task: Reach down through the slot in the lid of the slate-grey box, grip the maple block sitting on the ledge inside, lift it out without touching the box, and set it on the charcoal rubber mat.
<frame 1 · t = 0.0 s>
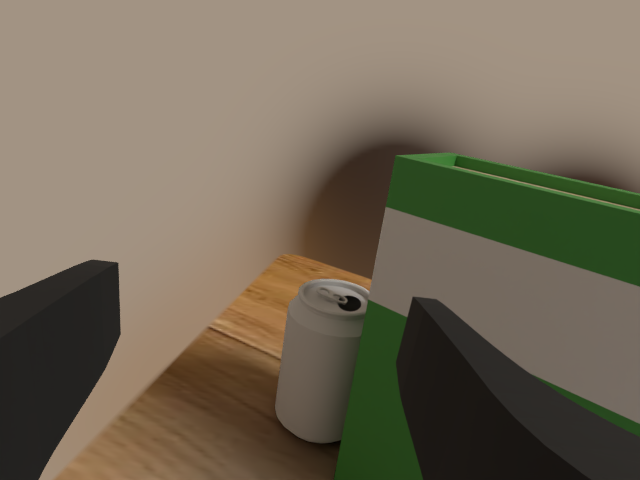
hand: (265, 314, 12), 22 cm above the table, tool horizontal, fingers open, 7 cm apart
can: (316, 420, 41), on the table
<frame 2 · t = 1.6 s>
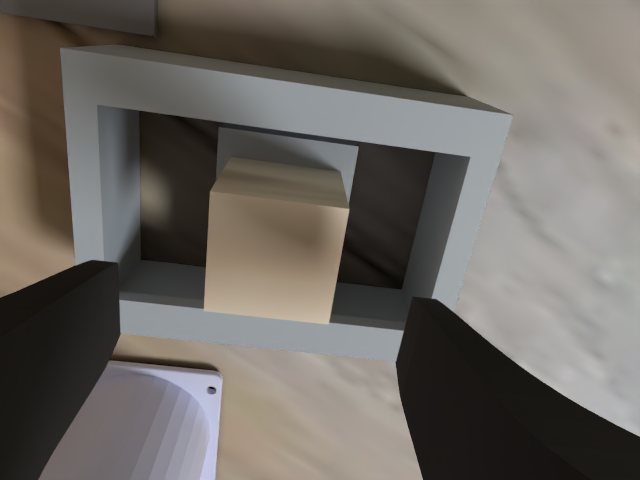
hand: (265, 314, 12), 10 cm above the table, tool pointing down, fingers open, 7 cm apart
block: (280, 215, 18), point 3 cm above the table, touching slot box
slot box: (284, 190, 21), on the table
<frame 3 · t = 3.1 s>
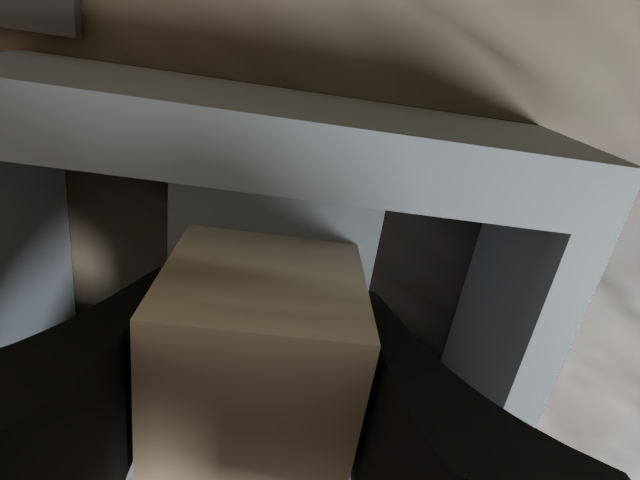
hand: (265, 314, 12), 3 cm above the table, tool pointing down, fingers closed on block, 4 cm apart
block: (266, 306, 12), point 3 cm above the table, touching gripper, slot box
slot box: (274, 254, 15), on the table
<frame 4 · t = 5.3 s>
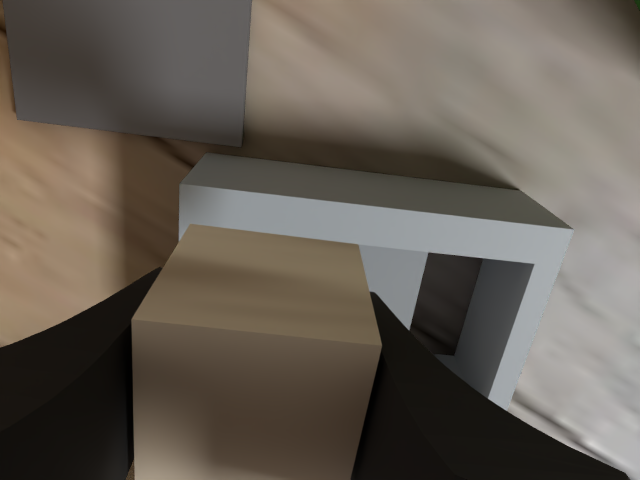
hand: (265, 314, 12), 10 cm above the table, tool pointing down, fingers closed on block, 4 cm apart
mat: (131, 13, 18), on the table
block: (267, 305, 12), point 10 cm above the table, touching gripper
slot box: (350, 272, 23), on the table
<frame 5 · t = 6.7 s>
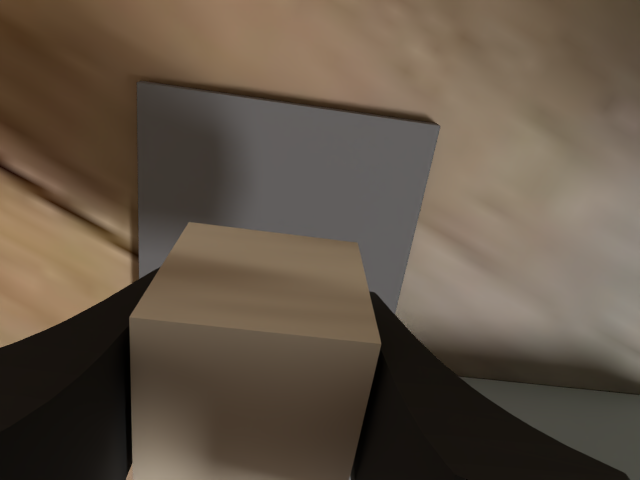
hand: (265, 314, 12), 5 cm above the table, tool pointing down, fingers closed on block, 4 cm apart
mat: (277, 237, 16), on the table
block: (266, 304, 12), point 4 cm above the table, touching gripper
slot box: (479, 471, 21), on the table
when the fingers open (2 cm above the table, at t = 7.6 s): block drops 2 cm, resting on mat.
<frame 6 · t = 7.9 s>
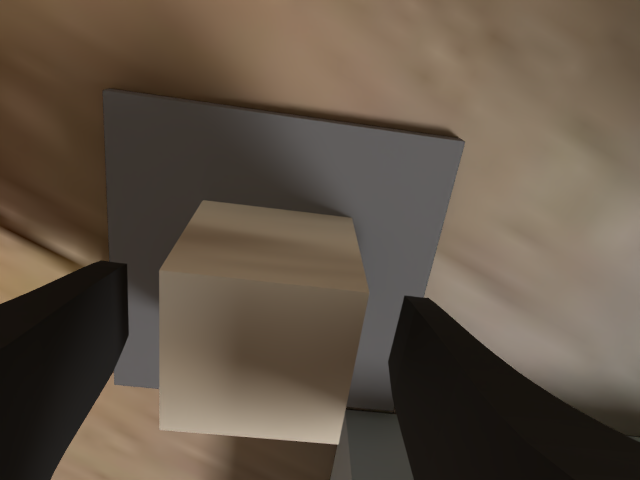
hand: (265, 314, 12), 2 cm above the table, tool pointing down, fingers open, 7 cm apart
mat: (271, 269, 14), on the table
block: (271, 274, 13), resting on mat
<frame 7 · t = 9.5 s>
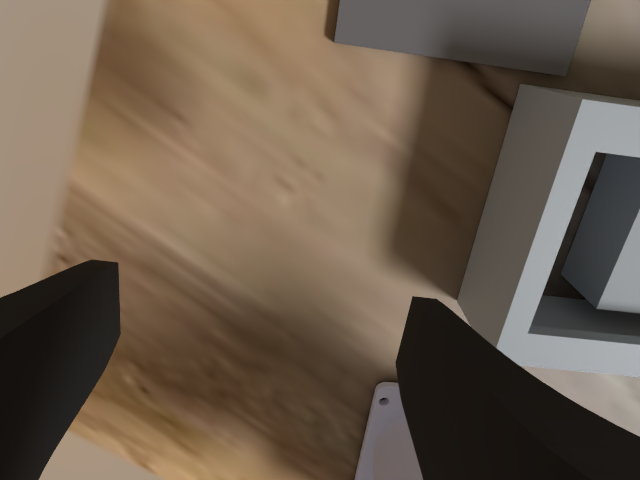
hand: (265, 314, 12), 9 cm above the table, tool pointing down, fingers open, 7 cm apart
slot box: (636, 221, 21), on the table
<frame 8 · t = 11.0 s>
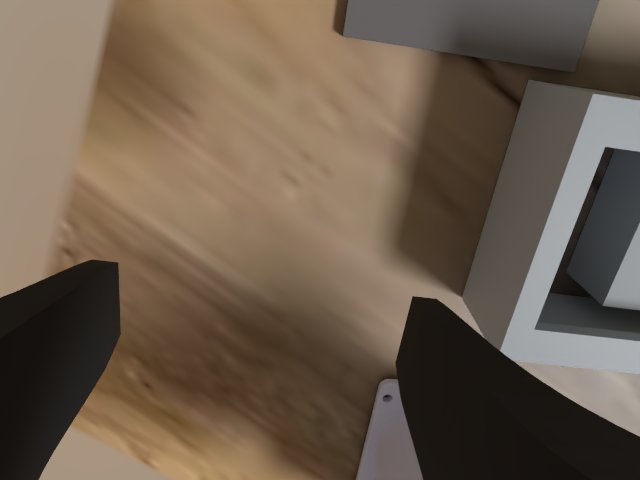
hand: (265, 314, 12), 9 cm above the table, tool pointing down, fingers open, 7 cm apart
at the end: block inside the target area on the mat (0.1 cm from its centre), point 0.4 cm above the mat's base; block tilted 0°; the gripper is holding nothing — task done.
